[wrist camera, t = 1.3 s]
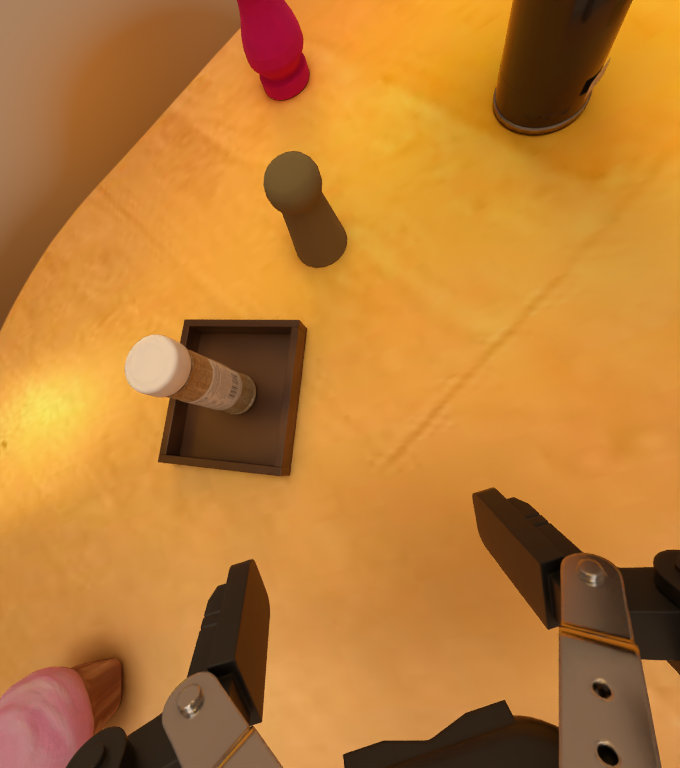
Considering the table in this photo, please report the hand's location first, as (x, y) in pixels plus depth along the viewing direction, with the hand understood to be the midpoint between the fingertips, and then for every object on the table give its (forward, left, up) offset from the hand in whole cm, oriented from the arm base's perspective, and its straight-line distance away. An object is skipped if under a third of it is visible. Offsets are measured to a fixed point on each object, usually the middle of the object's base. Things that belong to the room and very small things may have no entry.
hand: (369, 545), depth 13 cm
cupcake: (+22, -28, -22) cm, 42 cm away
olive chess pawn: (-26, -11, -22) cm, 36 cm away
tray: (-8, -18, -22) cm, 30 cm away
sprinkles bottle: (-8, -18, -22) cm, 30 cm away
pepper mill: (-50, -18, -22) cm, 58 cm away
